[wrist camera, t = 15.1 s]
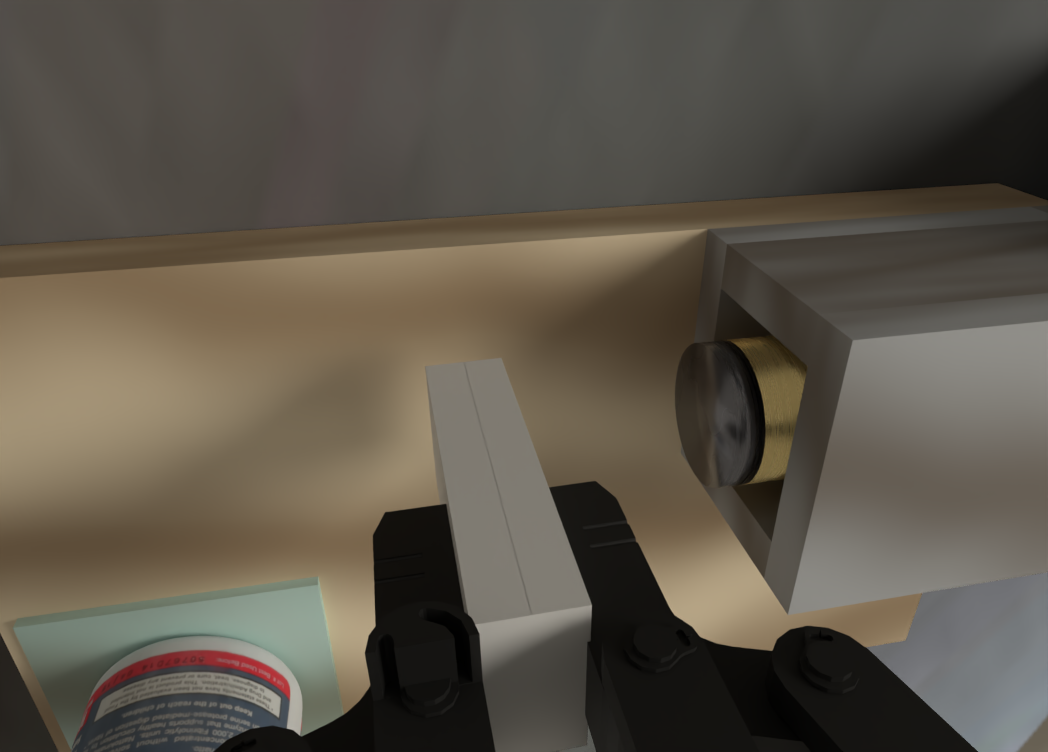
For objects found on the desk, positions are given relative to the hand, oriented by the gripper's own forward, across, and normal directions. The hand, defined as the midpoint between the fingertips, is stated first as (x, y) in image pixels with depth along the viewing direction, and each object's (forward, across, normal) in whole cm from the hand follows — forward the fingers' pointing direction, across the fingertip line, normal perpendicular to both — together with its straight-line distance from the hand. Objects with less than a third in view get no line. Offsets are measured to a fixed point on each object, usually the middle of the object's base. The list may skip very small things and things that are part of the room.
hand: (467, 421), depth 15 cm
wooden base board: (+4, +2, -5) cm, 7 cm away
